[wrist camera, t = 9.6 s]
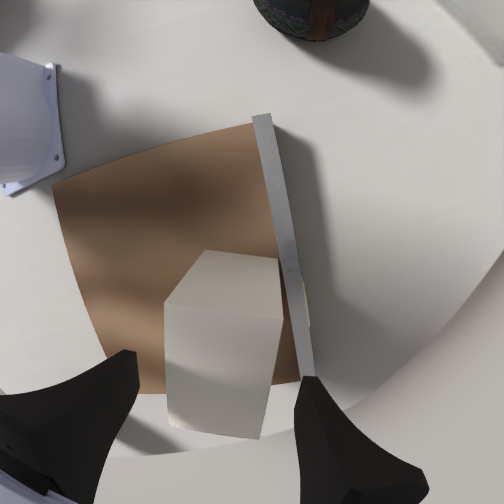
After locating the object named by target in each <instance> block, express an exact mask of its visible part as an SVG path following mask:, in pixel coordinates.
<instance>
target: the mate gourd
mask: <svg viewBox="0 0 504 504" xmlns="http://www.w3.org/2000/svg"><path fill="white" fill-rule="evenodd" d="M369 1H370V0H253V2H254V4H255V6H256V7H257V9H258V11H259V12H260V13H261V15H262V16H263V17H264V18H265V20H266V21H267V22H268V23H269V24H270V25H271V26H272V27H274V28H275V29H276V30H277V31H279V32H281V33H283V34H285V35H288V36H292V37H295V38H298V39H302V40H305V41H311V42H316V41H319V42H321V41H325V40H328V39H331V38H334V37H336V36H337V37H338V36H339V35H341V34H343V33H345V32H347V31H348V30H350V29H352V28H353V27H355V26H356V25H357V24H358V23H359V22H360V21H361V20H362V19H363V17H364V16H365V13H366V11H367V9H368V7H369V3H370V2H369Z"/></svg>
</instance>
